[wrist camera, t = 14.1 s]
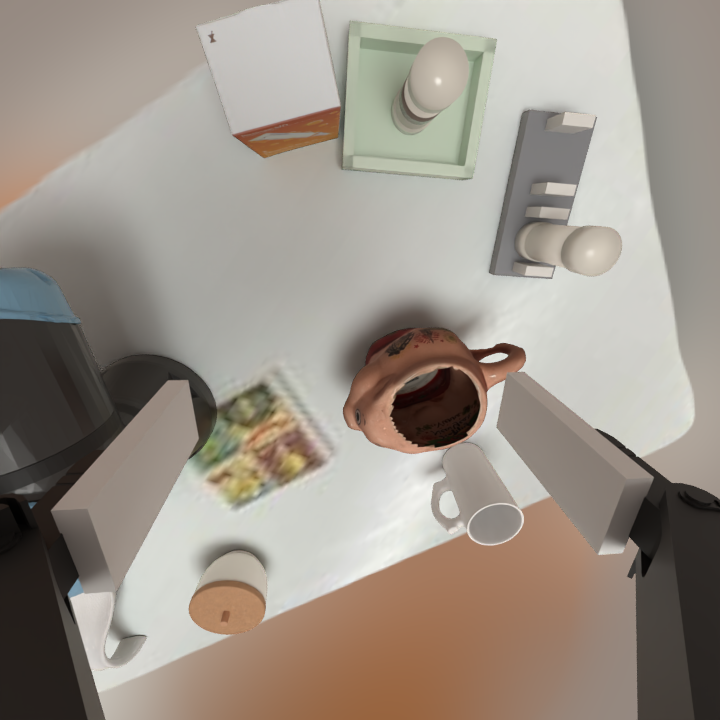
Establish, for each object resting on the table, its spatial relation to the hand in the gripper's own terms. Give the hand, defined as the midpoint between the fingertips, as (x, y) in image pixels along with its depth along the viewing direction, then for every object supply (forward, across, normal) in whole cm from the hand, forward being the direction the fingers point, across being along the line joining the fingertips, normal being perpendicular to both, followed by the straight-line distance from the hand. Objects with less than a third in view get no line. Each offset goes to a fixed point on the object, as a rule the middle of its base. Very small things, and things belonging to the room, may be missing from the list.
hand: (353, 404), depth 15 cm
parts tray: (+29, -8, -16) cm, 34 cm away
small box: (+30, +4, -16) cm, 34 cm away
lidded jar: (+30, +16, +46) cm, 58 cm away
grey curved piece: (+31, +38, +53) cm, 73 cm away
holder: (+29, -22, -9) cm, 37 cm away
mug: (+29, -17, +27) cm, 43 cm away
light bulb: (+28, -8, -16) cm, 34 cm away
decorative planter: (+29, -10, +10) cm, 33 cm away
